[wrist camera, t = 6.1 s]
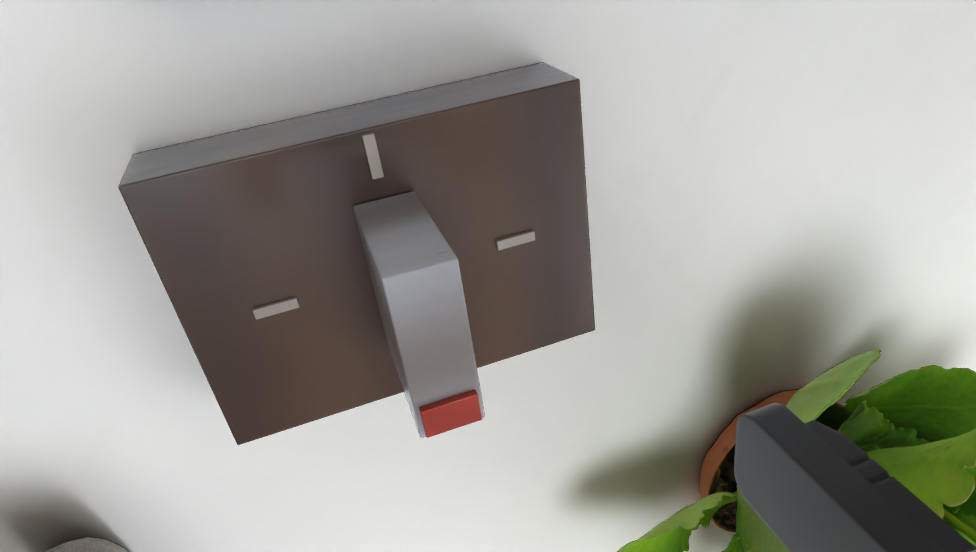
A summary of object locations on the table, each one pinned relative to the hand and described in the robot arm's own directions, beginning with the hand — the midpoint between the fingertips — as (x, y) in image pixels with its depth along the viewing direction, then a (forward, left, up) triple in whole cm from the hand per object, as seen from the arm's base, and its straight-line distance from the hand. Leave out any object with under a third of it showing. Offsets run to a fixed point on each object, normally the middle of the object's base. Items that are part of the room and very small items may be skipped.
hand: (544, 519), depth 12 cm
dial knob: (0, +1, -12) cm, 12 cm away
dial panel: (0, +1, -15) cm, 15 cm away
